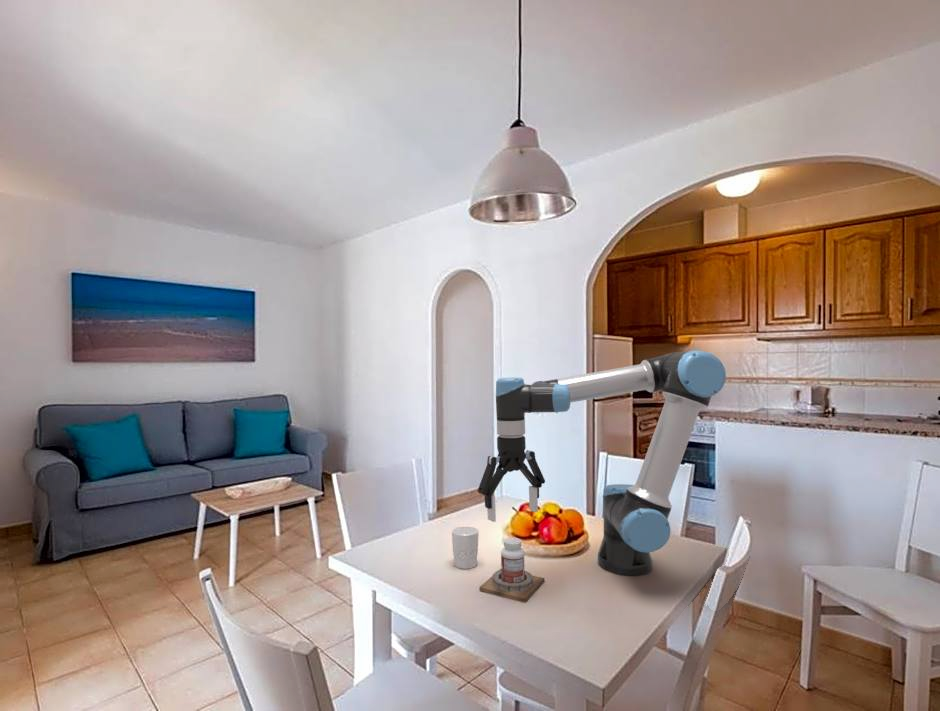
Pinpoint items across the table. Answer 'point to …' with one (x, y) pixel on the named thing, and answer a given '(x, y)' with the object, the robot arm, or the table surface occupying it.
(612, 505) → the robot arm
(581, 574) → the table surface
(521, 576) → the pill bottle
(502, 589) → the socket base
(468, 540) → the white cup
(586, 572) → the table surface
